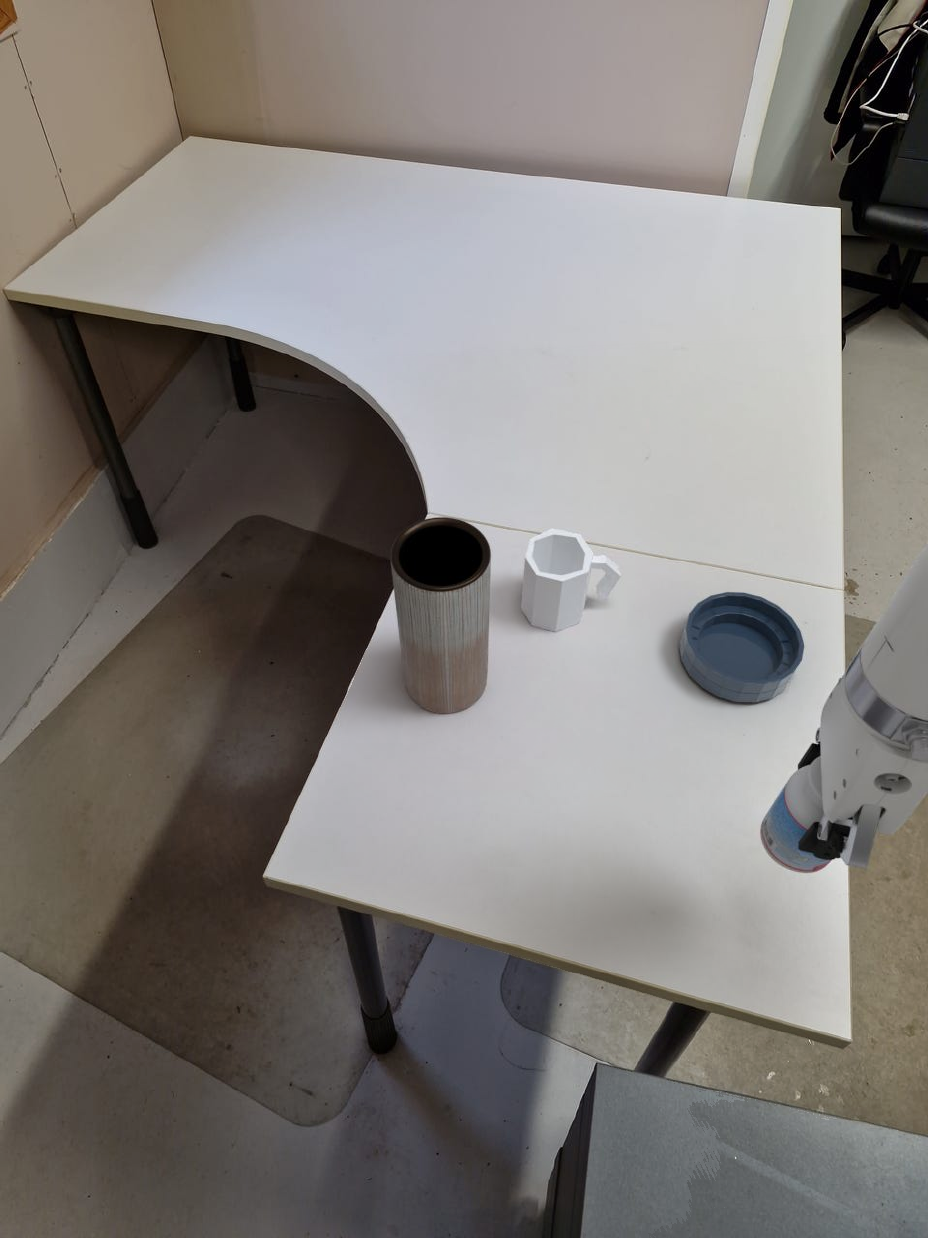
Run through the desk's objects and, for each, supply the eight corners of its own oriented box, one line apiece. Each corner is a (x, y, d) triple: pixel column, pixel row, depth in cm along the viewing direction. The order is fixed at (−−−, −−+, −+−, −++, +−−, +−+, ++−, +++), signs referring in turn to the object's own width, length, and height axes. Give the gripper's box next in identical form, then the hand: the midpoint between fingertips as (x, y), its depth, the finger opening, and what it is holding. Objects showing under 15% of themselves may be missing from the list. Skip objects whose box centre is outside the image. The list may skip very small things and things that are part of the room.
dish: (758, 604, 106) (768, 582, 102) (813, 690, 98) (826, 669, 94) (661, 627, 104) (667, 605, 100) (708, 716, 96) (717, 695, 92)
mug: (524, 633, 103) (529, 583, 95) (517, 581, 108) (520, 529, 101) (619, 628, 104) (631, 577, 96) (607, 576, 109) (617, 524, 101)
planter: (391, 700, 97) (373, 574, 79) (423, 636, 103) (413, 505, 85) (470, 725, 95) (470, 602, 77) (498, 659, 101) (504, 529, 83)
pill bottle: (825, 887, 68) (877, 831, 59) (751, 857, 69) (791, 799, 61) (837, 824, 71) (888, 762, 62) (766, 797, 73) (806, 733, 64)
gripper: (996, 827, 46) (872, 929, 60) (958, 595, 56) (860, 729, 70) (856, 798, 47) (767, 905, 61) (844, 576, 57) (770, 712, 71)
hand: (818, 810), depth 66 cm, fingers closed on pill bottle, 6 cm apart
